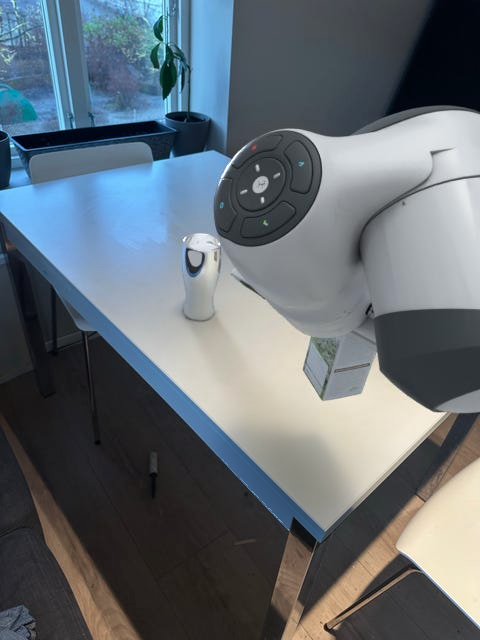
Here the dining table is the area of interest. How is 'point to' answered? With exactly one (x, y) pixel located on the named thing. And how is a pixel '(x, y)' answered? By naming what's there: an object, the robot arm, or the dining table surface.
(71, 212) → the dining table surface
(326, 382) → the syrup box
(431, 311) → the robot arm
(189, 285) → the beer glass
